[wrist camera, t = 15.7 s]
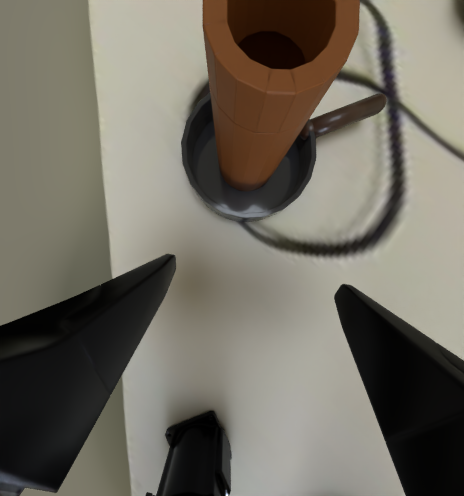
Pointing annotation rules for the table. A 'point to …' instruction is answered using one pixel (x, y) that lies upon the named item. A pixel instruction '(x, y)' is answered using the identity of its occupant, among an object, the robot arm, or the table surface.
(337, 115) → the pan handle
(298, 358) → the table surface
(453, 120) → the table surface
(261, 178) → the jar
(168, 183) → the table surface
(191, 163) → the pan
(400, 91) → the table surface
